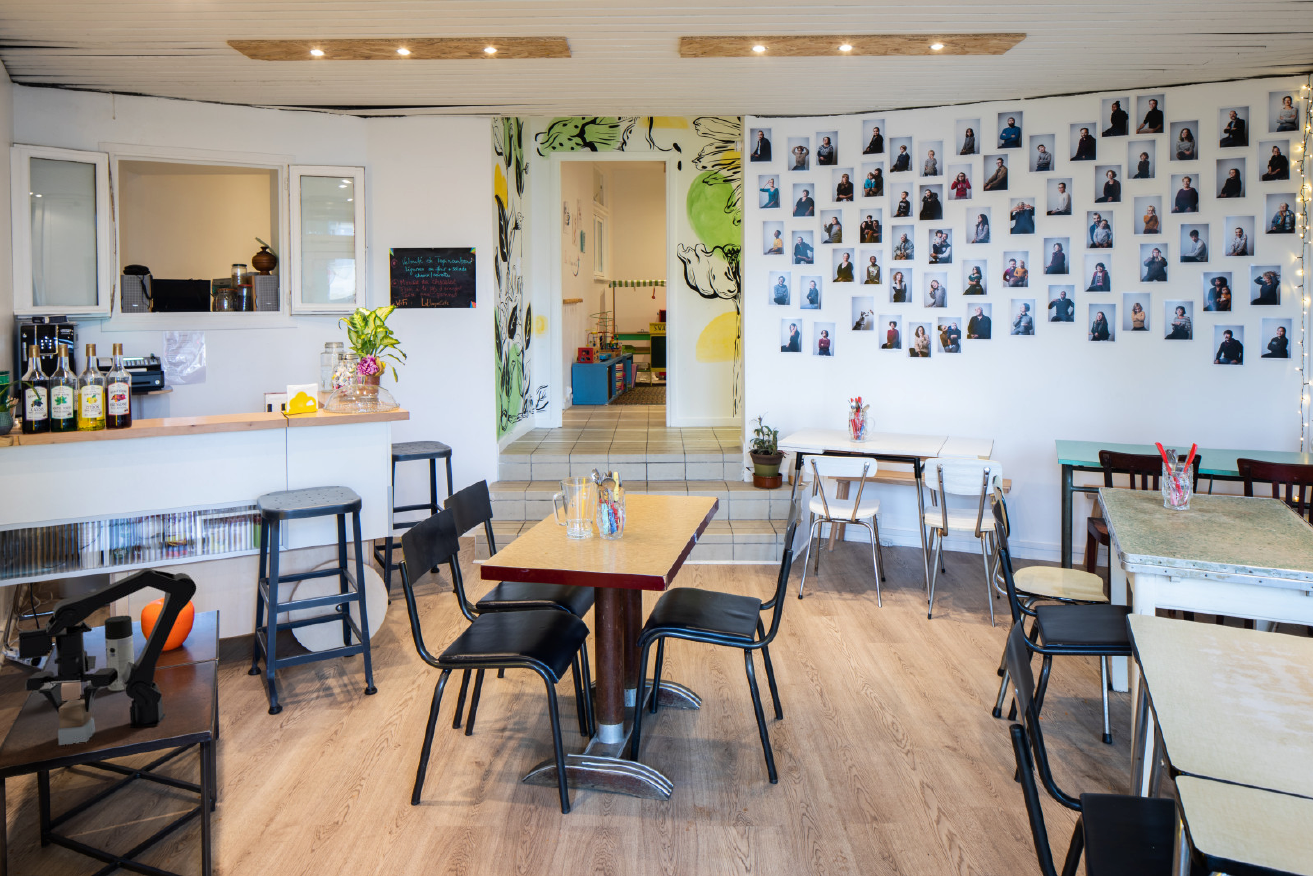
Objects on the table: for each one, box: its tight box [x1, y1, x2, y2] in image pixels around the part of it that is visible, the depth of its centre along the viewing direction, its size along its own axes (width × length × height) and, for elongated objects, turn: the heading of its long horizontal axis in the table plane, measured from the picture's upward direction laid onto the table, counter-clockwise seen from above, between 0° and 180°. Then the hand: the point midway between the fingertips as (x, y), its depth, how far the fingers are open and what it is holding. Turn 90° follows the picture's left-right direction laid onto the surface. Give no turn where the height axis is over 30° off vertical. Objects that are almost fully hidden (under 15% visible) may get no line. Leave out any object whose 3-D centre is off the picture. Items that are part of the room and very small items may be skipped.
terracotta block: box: [61, 682, 82, 701], centre depth 248 cm, size 5×5×4 cm
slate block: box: [57, 717, 96, 746], centre depth 223 cm, size 6×6×4 cm
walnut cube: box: [58, 698, 92, 729], centre depth 223 cm, size 5×5×5 cm
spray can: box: [104, 615, 135, 692], centre depth 255 cm, size 7×7×20 cm
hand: (74, 712), depth 223 cm, fingers open, 6 cm apart
